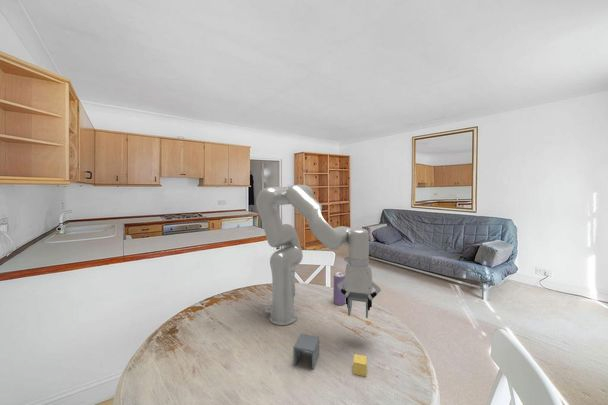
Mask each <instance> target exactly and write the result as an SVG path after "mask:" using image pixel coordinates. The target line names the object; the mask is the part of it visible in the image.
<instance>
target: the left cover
mask: <svg viewBox="0 0 608 405" xmlns="http://www.w3.org/2000/svg"><path fill="white" fill-rule="evenodd" d="M292 350H293V352H292V353H293V357H292V359H293V364H292V365H293V366H294V367H296V366H297V363H298V361H299V359H300V356H301V354H302V352H304V351H305V352H309V353H311V370H313V371H315V368H316V364H317V362H318V359H319V357H320V336H318V335H313V334H306V333H302V332H301V333H300V334H299V336H298V338H297V339H296V341H295V342H294V345H293V348H292Z"/></svg>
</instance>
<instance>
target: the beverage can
mask: <svg viewBox="0 0 608 405" xmlns="http://www.w3.org/2000/svg"><path fill="white" fill-rule="evenodd" d="M332 279H333V283H332V284H333V290H332V291H333V293H332V294H333V298H332V300H333V303H334V305H336V306H343V305H346V297H345V295H344V294H343V293H342V292H341V290H340V289H339V288H338V287H337V285H338V284H339V283H340V282H342V281H343V280H344V279H345V272H335V273H333V278H332ZM342 287H343V288H344V289H345V284H344V285H343V286H342Z"/></svg>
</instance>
